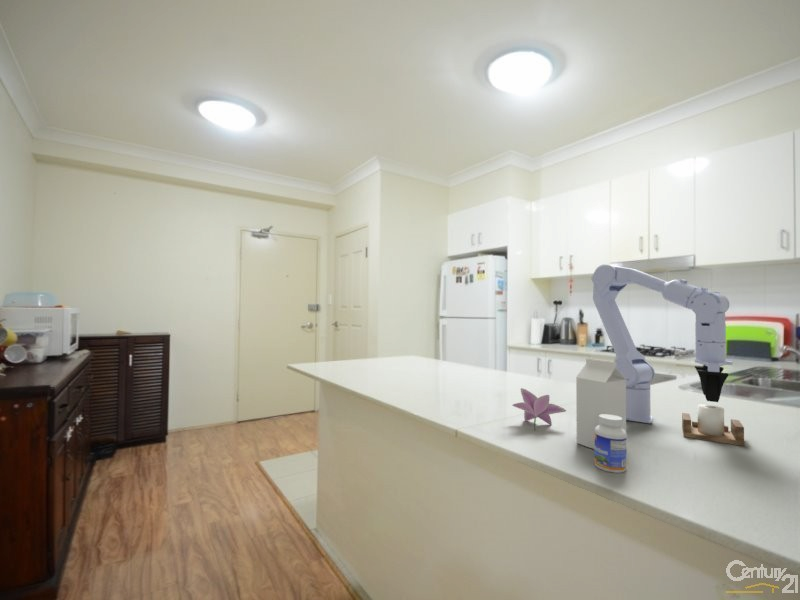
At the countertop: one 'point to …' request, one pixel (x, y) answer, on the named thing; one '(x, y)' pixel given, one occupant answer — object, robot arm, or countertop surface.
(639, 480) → the countertop surface
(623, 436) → the pill bottle
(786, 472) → the countertop surface
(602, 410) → the milk carton
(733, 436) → the holder
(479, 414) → the countertop surface
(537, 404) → the lily
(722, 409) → the paper roll
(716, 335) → the robot arm
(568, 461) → the countertop surface
